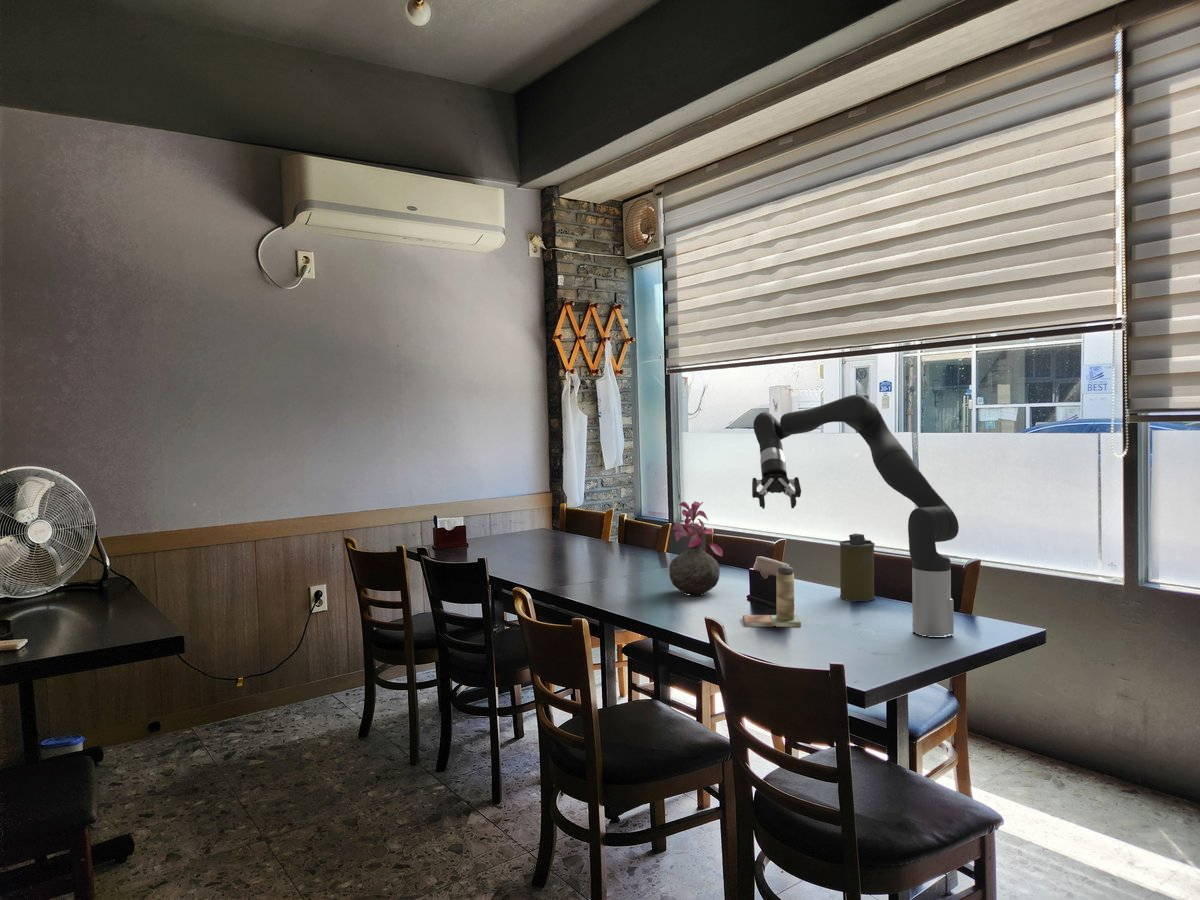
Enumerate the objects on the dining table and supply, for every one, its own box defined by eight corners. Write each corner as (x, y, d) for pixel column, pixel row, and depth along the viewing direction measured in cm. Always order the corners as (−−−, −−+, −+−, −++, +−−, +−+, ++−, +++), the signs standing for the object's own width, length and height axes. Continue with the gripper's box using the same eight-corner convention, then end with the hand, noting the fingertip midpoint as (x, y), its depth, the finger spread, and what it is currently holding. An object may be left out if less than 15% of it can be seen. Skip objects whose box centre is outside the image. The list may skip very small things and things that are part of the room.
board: (796, 619, 223) (796, 614, 223) (800, 626, 215) (800, 622, 215) (742, 618, 224) (742, 614, 224) (745, 626, 216) (745, 622, 216)
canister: (860, 603, 239) (859, 538, 238) (832, 597, 248) (832, 534, 247) (882, 598, 245) (882, 534, 244) (855, 592, 254) (855, 530, 253)
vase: (671, 587, 266) (670, 499, 265) (724, 588, 263) (722, 499, 262) (667, 599, 250) (665, 505, 248) (722, 600, 247) (721, 505, 245)
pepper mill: (792, 616, 221) (792, 566, 221) (795, 620, 217) (795, 569, 216) (775, 615, 222) (775, 565, 221) (777, 620, 217) (777, 569, 216)
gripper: (795, 473, 245) (801, 514, 234) (749, 473, 247) (753, 514, 236) (797, 457, 240) (804, 498, 229) (750, 457, 241) (754, 499, 230)
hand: (778, 506), depth 232 cm, fingers open, 8 cm apart
